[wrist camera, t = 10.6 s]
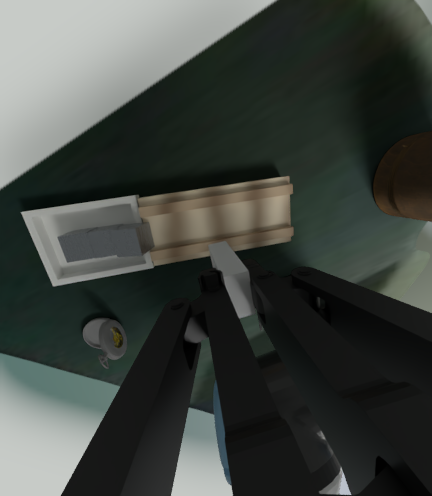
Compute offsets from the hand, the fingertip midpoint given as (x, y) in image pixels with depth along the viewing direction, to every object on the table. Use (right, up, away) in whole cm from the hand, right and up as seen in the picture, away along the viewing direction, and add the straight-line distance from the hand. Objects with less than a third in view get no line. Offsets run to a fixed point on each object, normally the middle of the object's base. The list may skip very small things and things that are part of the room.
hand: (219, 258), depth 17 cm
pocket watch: (-21, -15, +22) cm, 34 cm away
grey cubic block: (-19, +2, +15) cm, 24 cm away
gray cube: (-12, +3, +15) cm, 20 cm away
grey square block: (-17, +3, +17) cm, 24 cm away
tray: (-20, +2, +17) cm, 26 cm away
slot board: (0, +6, +19) cm, 20 cm away
